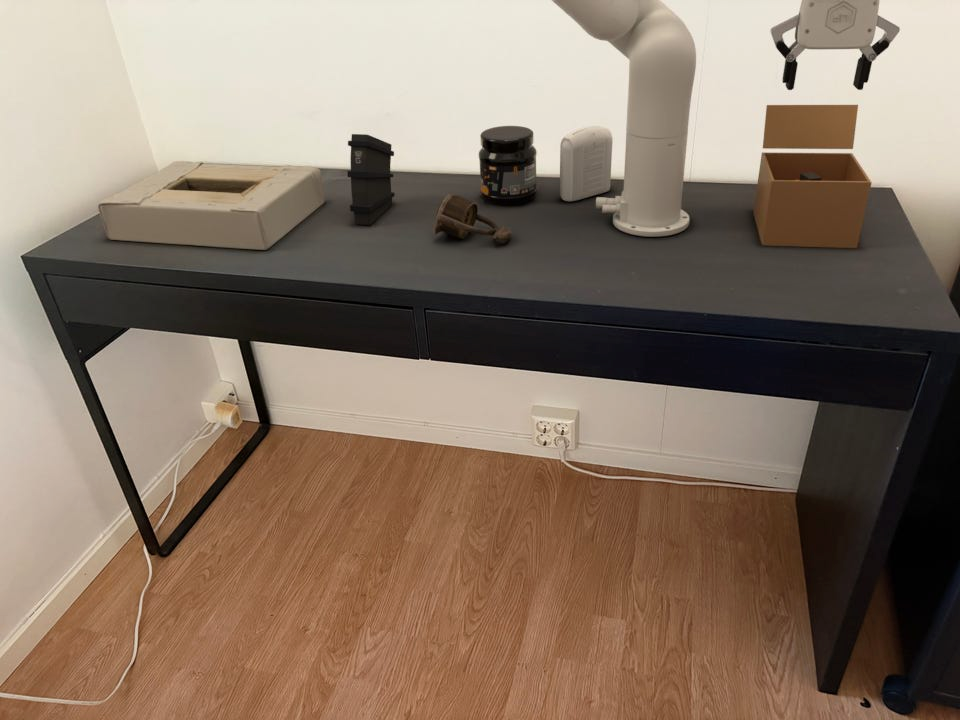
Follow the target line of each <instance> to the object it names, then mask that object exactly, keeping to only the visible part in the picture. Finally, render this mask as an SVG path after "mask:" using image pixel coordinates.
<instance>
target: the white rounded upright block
mask: <svg viewBox="0 0 960 720" xmlns="http://www.w3.org/2000/svg"><path fill="white" fill-rule="evenodd" d="M559 146H560V147H559V148H560V149H559V196H560V198H561V200H563V201H565V202H575V201H579V200H582V199H587V198H591V197H594V196H597V195H601V194H603V193H606V192H609V191H610V190H611V182H612V181H611V180H612V179H611V178H612V177H611V176H612V161H613V160H612V159H613V158H612V156H613V134H612V132H611V130H610V129H609V128H607V127H604V126H600V125H589V126H584V127H581V128H578V129H575V130H573V131H572V132H570V133H567V134H566V135H565V136H564V137H563V138H562V139H561V141H560V144H559Z"/></svg>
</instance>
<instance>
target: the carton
mask: <svg viewBox="0 0 960 720" xmlns="http://www.w3.org/2000/svg"><path fill="white" fill-rule="evenodd" d="M808 172H813V173H815V174H816V175H818V176H820V177H821V181H801V180H798V179H800V174H801V173H808ZM872 183H873V182H872V181H871V179H870V178H869V176H868V175H867V173H866V172H865V170H864V169H863V167H862V166H861V164H860V163H859V161H858V160H857V158H856V157H855V155H854V154H853V152H761V157H760V162H759V170H758V177H757V184H756V190H755V191H756V192H755V198H754V204H753V210H752V213H753V216H754V220H755V224H756V228H757V232H758V235H759V240H760V243H761V246H766V247H767V246H769V247H771V246H773V247H803V248H804V247H805V248H806V247H807V248H808V247H809V248H834V249H835V248H836V249H857V248H858V246H859V240H860V236H861V232H862V227H863V224H864V223H863V222H864V218H865V214H866V211H867V210H866V209H867V205H868V202H869V201H868V200H869V197H870V192H871V186H872Z"/></svg>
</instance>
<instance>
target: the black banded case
mask: <svg viewBox="0 0 960 720" xmlns="http://www.w3.org/2000/svg"><path fill="white" fill-rule="evenodd" d="M347 146H348V147H350V156H349V157H350V170H347V178H350V188H351V189H350V190H351V191H350V192H351V201H352V202H351V204H350V205H349V211H350V212H352V213H353V217H354V224H355V225H357V226H372V224H374V223H375V221H376V220H378V219H379V218H380V217H381V216H382V215H383V214H384V213H385V212H386V211H387V210H388V209H390V207H391V206H393V198H394V197H395V196H396V194H395V192H394V191H392V182H391V181H392V179H391V178H394V173H391V162H392V160H391V159H392V157H395V151H393V150H392V144H391V143H390V142H387V141H384V140H382V139H379V138H377V137H374V136H372V135H370V134H366V133H365V134H364V133H363V134H362V133H361V134H360V133H352V134H351V139H350V140H347Z"/></svg>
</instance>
